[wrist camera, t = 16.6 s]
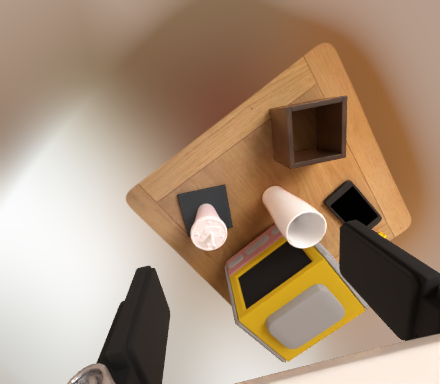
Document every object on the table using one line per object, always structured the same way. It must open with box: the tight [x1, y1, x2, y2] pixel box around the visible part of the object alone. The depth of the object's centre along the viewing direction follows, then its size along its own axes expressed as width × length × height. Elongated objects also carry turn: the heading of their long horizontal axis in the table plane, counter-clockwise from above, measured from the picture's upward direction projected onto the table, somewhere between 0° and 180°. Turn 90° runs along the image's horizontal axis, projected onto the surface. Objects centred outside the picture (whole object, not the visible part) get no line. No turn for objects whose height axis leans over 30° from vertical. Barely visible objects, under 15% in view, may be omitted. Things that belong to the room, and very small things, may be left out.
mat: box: [177, 185, 233, 237], centre depth 47 cm, size 10×10×1 cm
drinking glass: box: [262, 186, 327, 248], centre depth 40 cm, size 7×7×15 cm
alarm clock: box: [225, 224, 368, 362], centre depth 44 cm, size 20×16×18 cm
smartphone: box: [325, 180, 382, 229], centre depth 50 cm, size 7×15×1 cm, turn 47°
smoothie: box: [190, 204, 227, 250], centre depth 40 cm, size 6×6×14 cm
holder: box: [270, 96, 347, 169], centre depth 40 cm, size 10×10×8 cm
